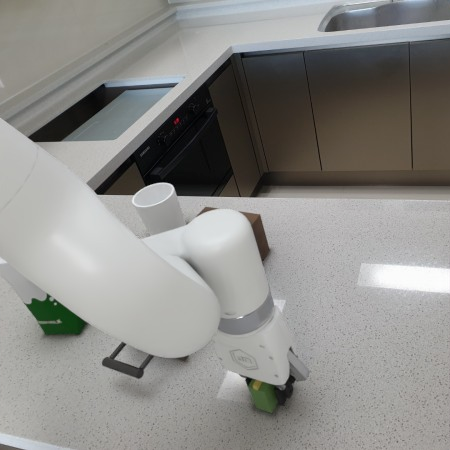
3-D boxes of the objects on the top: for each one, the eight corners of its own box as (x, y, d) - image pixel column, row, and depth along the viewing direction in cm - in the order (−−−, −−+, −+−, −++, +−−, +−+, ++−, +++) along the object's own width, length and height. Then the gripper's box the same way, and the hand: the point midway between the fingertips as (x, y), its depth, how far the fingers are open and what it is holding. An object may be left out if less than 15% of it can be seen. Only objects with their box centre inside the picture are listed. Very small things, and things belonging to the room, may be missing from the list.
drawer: (159, 398, 67) (140, 368, 63) (103, 377, 72) (82, 348, 68) (234, 291, 83) (224, 261, 78) (184, 279, 87) (171, 251, 83)
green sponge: (289, 379, 67) (281, 354, 64) (272, 413, 64) (262, 389, 60) (273, 375, 68) (265, 350, 65) (255, 408, 65) (245, 383, 61)
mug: (196, 231, 101) (181, 192, 95) (159, 251, 97) (141, 212, 91) (175, 212, 108) (160, 175, 102) (140, 230, 105) (122, 192, 99)
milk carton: (104, 300, 88) (53, 217, 76) (81, 339, 81) (21, 254, 69) (63, 302, 89) (7, 221, 77) (37, 340, 82) (-29, 257, 70)
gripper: (167, 313, 56) (210, 397, 67) (290, 346, 49) (315, 434, 60) (202, 271, 61) (236, 356, 72) (317, 296, 54) (335, 385, 65)
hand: (271, 391), depth 66 cm, fingers open, 3 cm apart
